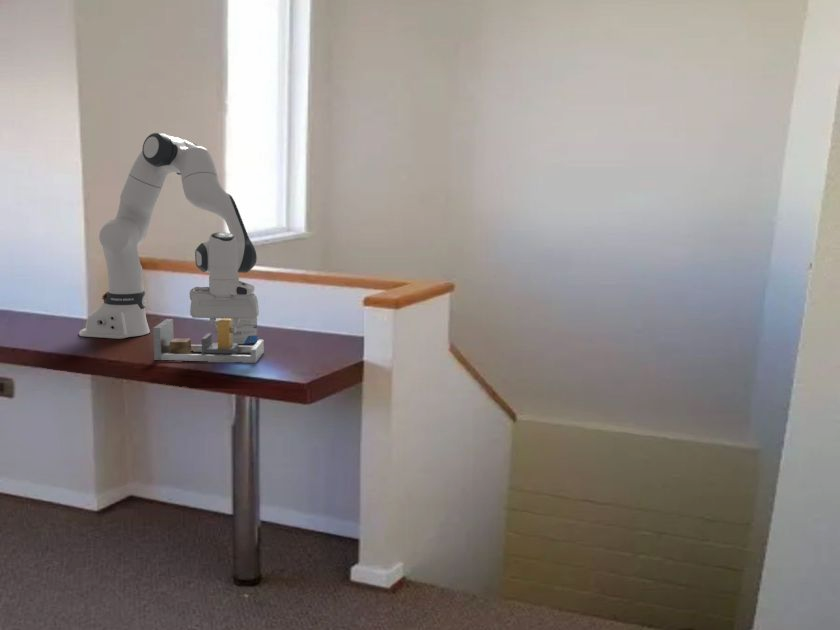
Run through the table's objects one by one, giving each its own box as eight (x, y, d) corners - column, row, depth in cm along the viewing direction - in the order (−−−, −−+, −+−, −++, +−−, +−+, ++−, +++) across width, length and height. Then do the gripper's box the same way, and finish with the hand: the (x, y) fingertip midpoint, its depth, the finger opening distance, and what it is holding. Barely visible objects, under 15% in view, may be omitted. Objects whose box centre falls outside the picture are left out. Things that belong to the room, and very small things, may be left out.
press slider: (201, 358, 267) (200, 322, 265) (208, 352, 276) (207, 317, 274) (232, 359, 267) (231, 323, 265) (238, 352, 276) (237, 317, 274)
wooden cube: (170, 358, 269) (169, 341, 268) (175, 354, 274) (174, 338, 273) (186, 358, 269) (186, 342, 268) (191, 354, 274) (190, 338, 273)
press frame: (154, 360, 264) (153, 327, 262) (167, 350, 278) (166, 318, 276) (255, 362, 264) (255, 329, 263) (263, 352, 278) (263, 320, 276)
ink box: (254, 340, 295) (254, 305, 293) (257, 343, 290) (257, 307, 288) (228, 341, 292) (227, 306, 289) (231, 345, 287) (230, 309, 285)
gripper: (186, 288, 264) (188, 334, 267) (255, 289, 264) (256, 335, 267) (192, 285, 270) (193, 329, 273) (259, 286, 271) (260, 331, 273)
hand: (225, 332), depth 270 cm, fingers closed on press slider, 3 cm apart
